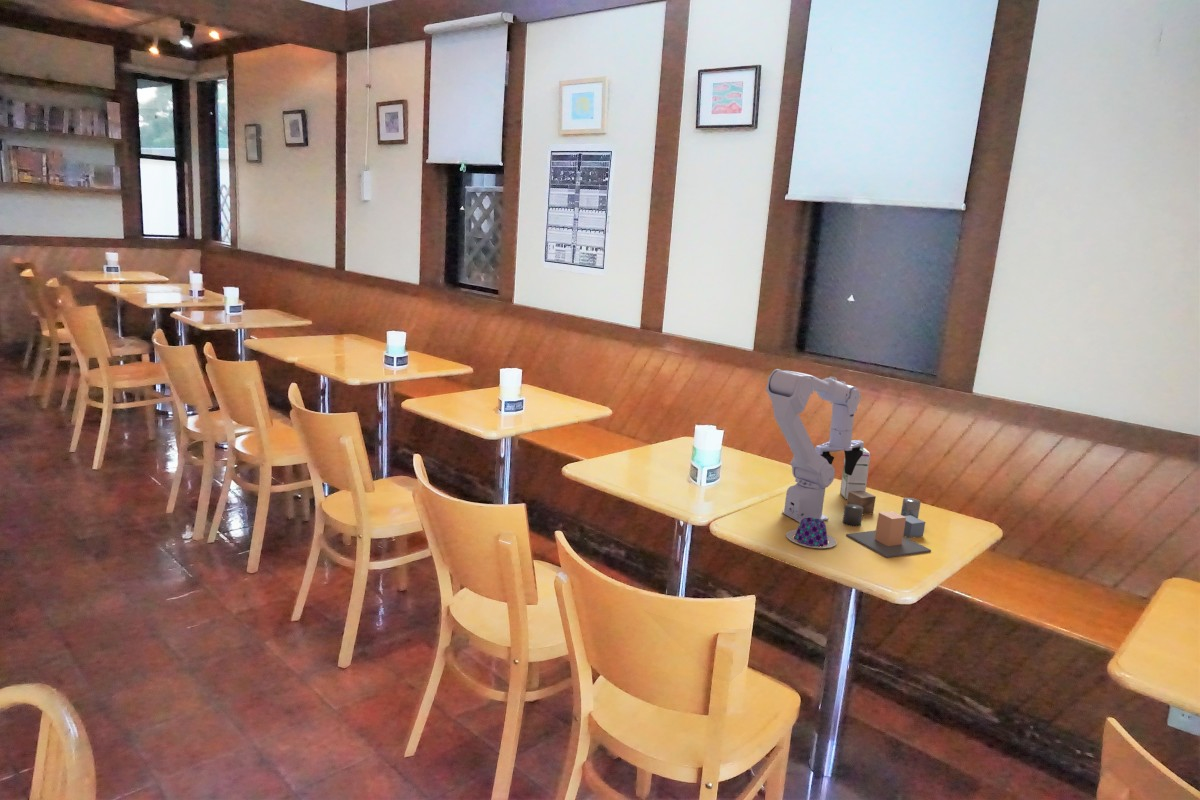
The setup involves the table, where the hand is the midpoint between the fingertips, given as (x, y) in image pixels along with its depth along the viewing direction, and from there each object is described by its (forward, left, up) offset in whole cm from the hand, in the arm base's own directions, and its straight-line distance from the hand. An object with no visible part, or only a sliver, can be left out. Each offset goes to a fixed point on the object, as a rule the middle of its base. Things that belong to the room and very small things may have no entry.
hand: (836, 475), depth 217 cm
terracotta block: (-3, -24, -9) cm, 26 cm away
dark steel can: (+16, -12, -10) cm, 22 cm away
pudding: (-21, -17, -10) cm, 29 cm away
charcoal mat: (-3, -24, -10) cm, 26 cm away
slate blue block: (+8, -20, -10) cm, 24 cm away
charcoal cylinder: (-2, -10, -10) cm, 14 cm away
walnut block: (+7, -3, -10) cm, 12 cm away
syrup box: (+13, +7, -10) cm, 18 cm away
